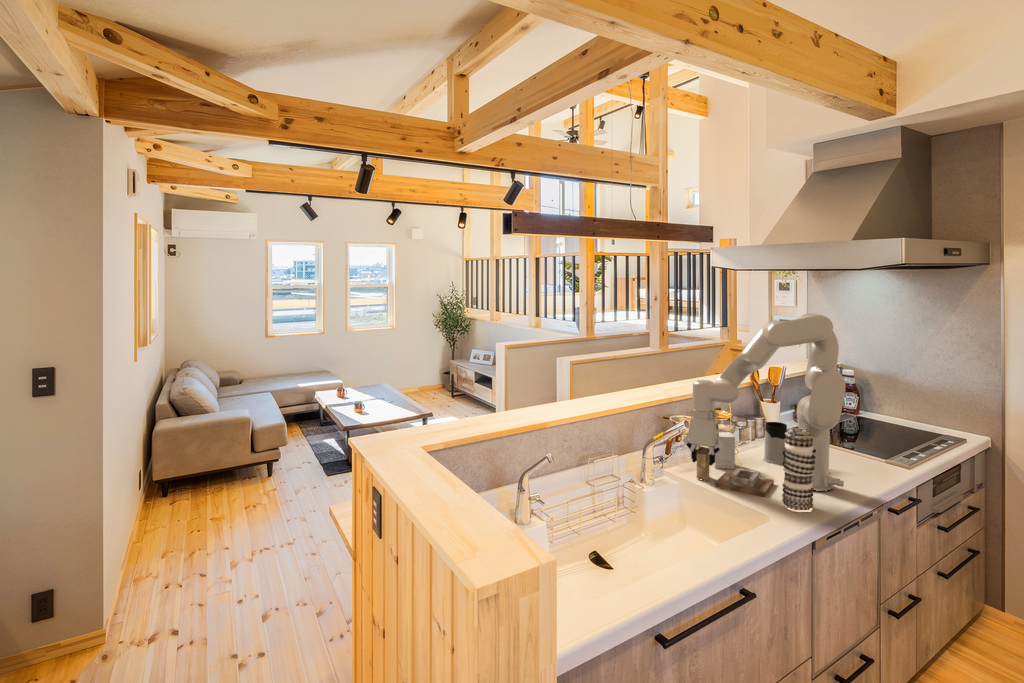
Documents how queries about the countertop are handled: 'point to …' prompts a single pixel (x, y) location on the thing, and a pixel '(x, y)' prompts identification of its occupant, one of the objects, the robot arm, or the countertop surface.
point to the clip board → (745, 482)
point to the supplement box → (725, 451)
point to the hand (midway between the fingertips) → (703, 462)
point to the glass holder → (774, 442)
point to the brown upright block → (703, 463)
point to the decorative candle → (798, 469)
